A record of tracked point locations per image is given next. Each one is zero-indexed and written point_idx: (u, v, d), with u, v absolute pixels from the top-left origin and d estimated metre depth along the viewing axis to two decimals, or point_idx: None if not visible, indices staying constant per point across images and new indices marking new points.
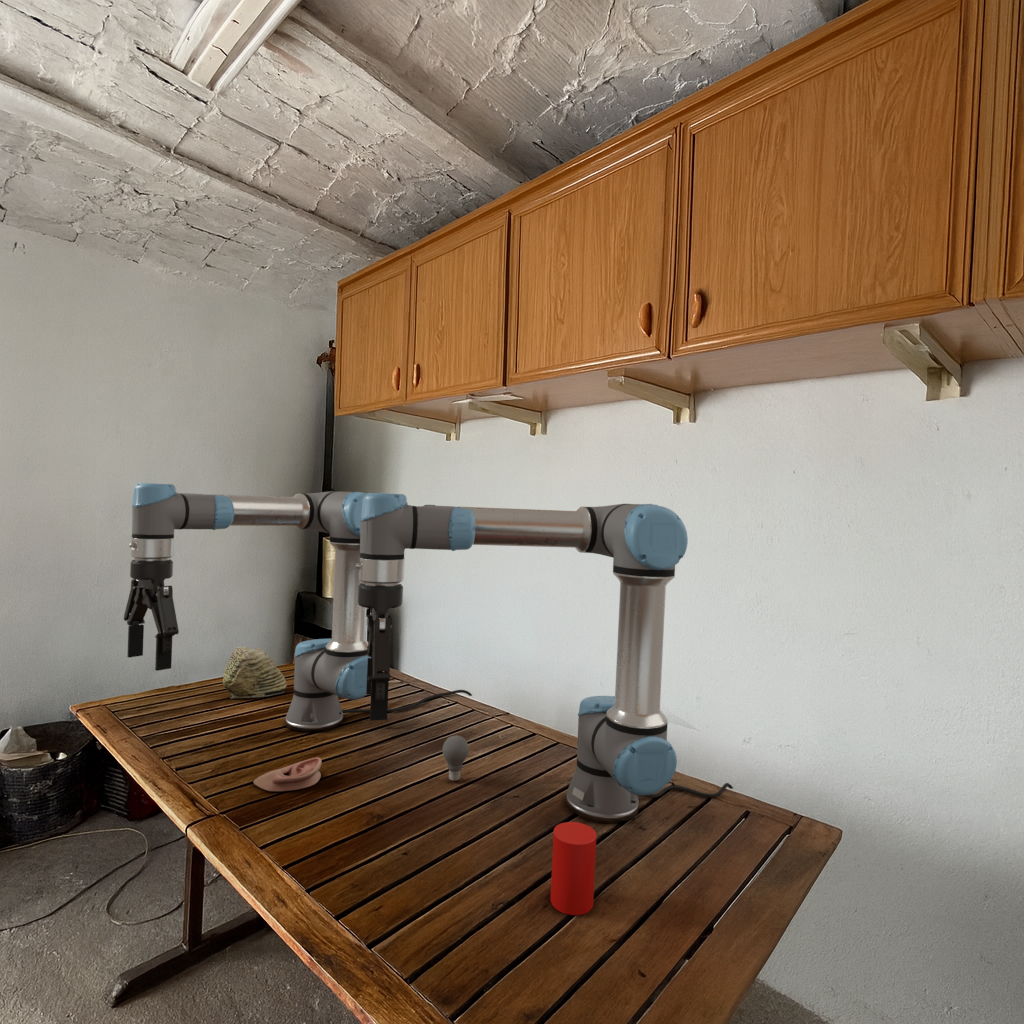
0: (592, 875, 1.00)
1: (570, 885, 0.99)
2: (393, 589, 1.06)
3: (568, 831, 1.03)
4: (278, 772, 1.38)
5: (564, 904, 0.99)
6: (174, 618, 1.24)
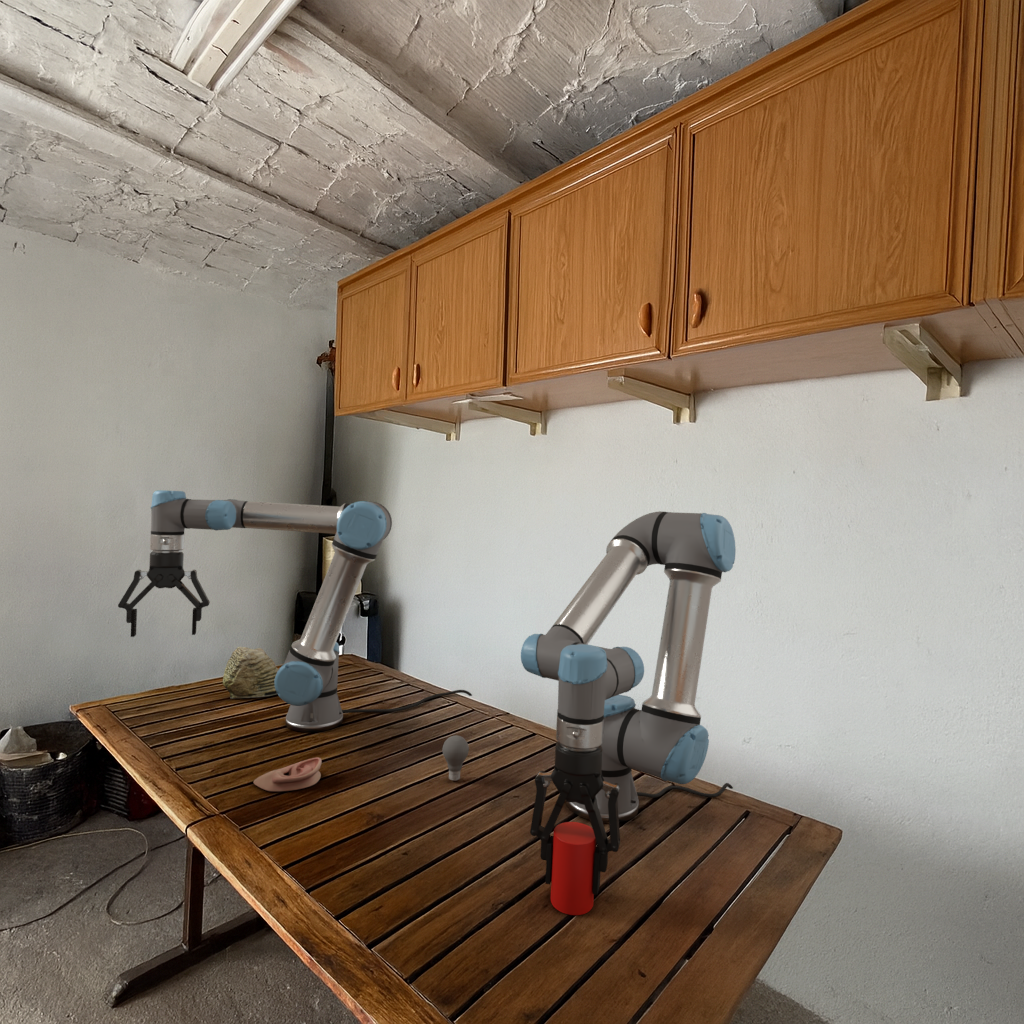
0: (592, 875, 1.00)
1: (570, 885, 0.99)
2: None
3: (568, 830, 1.03)
4: (278, 772, 1.38)
5: (564, 904, 0.99)
6: None
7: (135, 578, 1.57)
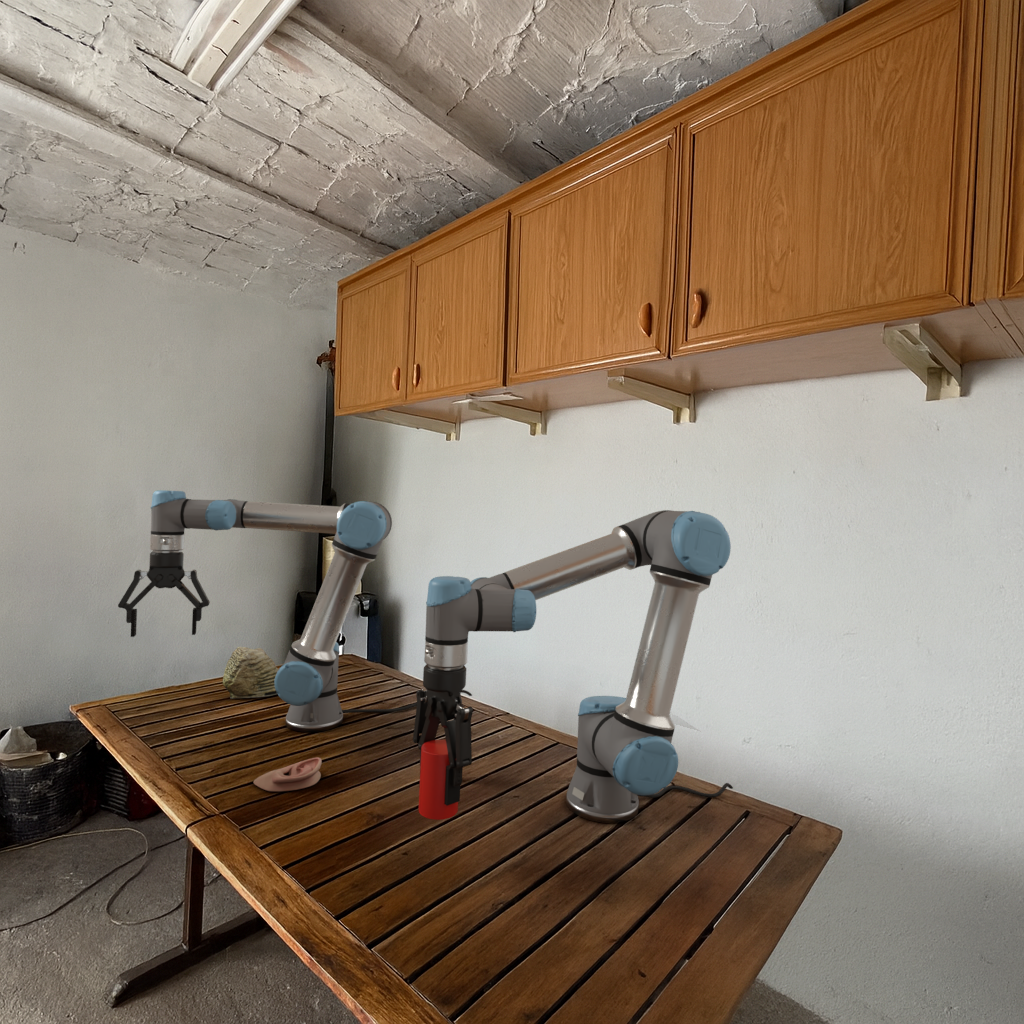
0: None
1: (424, 789, 1.09)
2: (464, 671, 1.10)
3: (438, 744, 1.13)
4: (278, 772, 1.38)
5: (420, 806, 1.10)
6: None
7: (135, 578, 1.57)
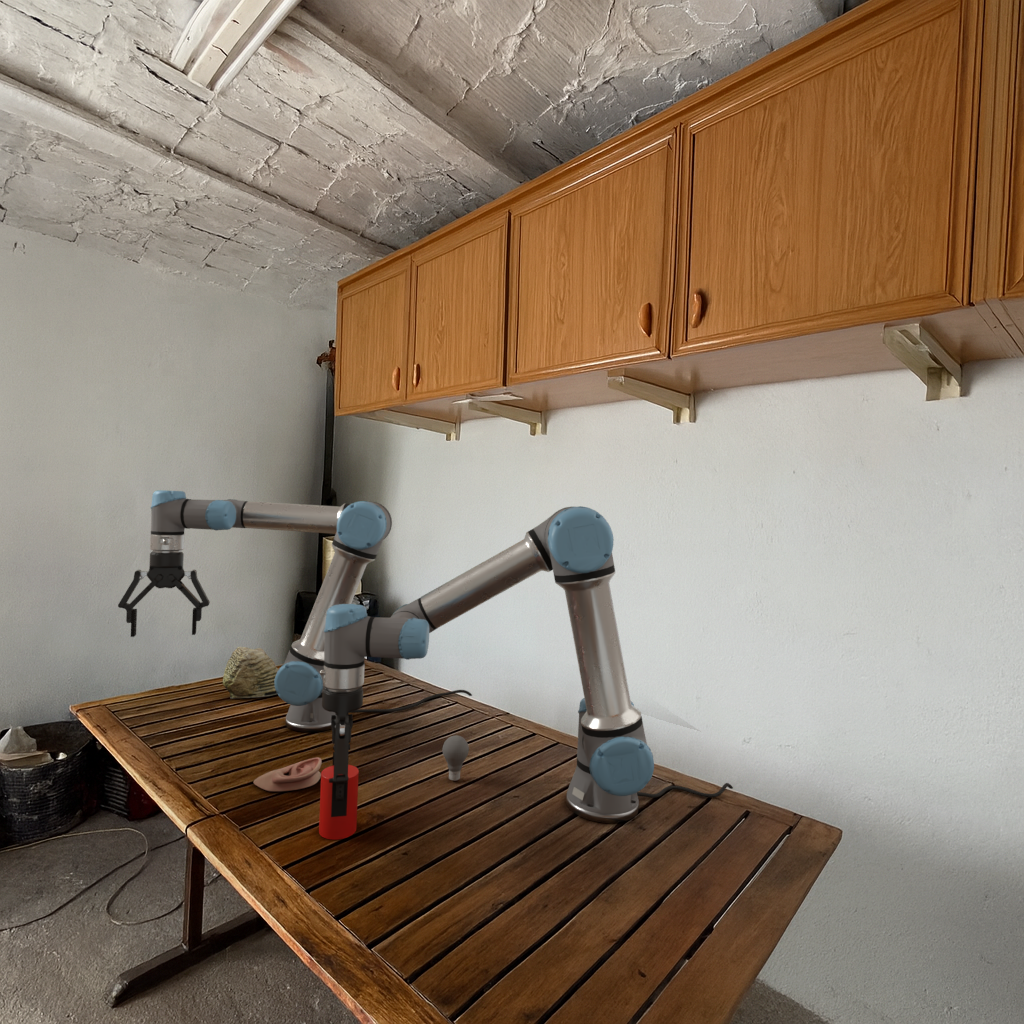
0: None
1: None
2: (353, 694, 1.18)
3: None
4: (278, 772, 1.38)
5: None
6: None
7: (135, 578, 1.57)
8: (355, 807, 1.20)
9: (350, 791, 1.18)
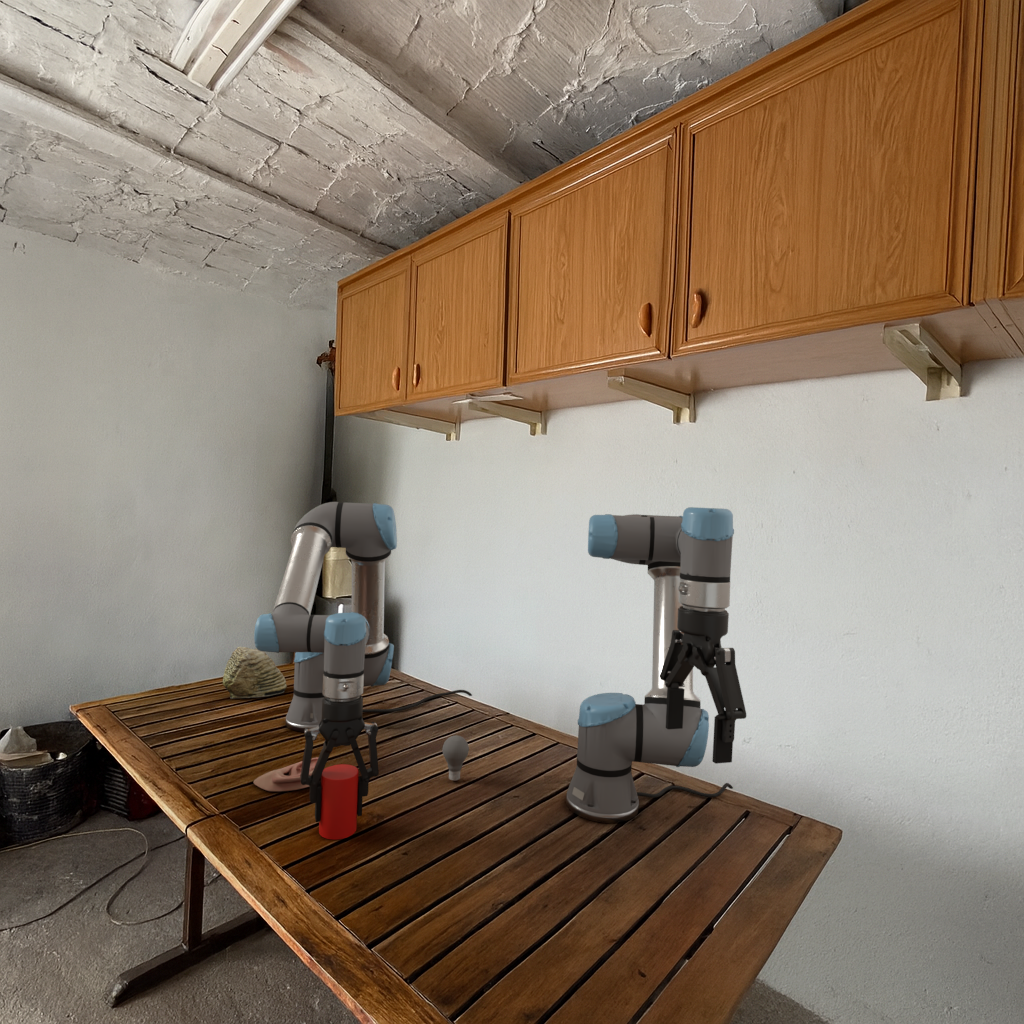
0: (332, 810, 1.17)
1: None
2: (725, 615, 0.95)
3: (340, 769, 1.22)
4: (278, 772, 1.38)
5: None
6: None
7: (308, 742, 1.17)
8: (355, 807, 1.20)
9: (350, 791, 1.18)
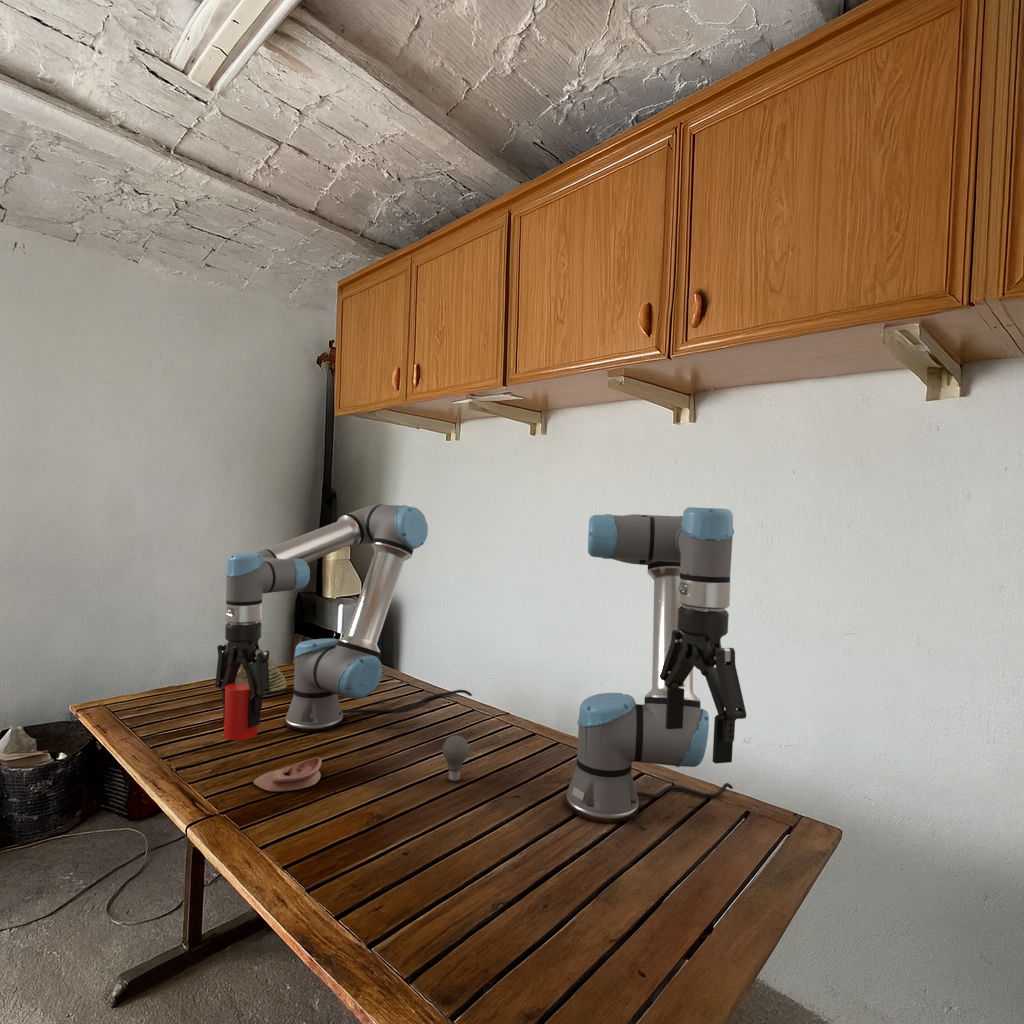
0: (225, 713, 1.41)
1: None
2: (725, 615, 0.95)
3: (246, 684, 1.44)
4: (278, 772, 1.38)
5: None
6: (268, 681, 1.41)
7: (219, 653, 1.45)
8: (243, 718, 1.40)
9: (235, 702, 1.40)
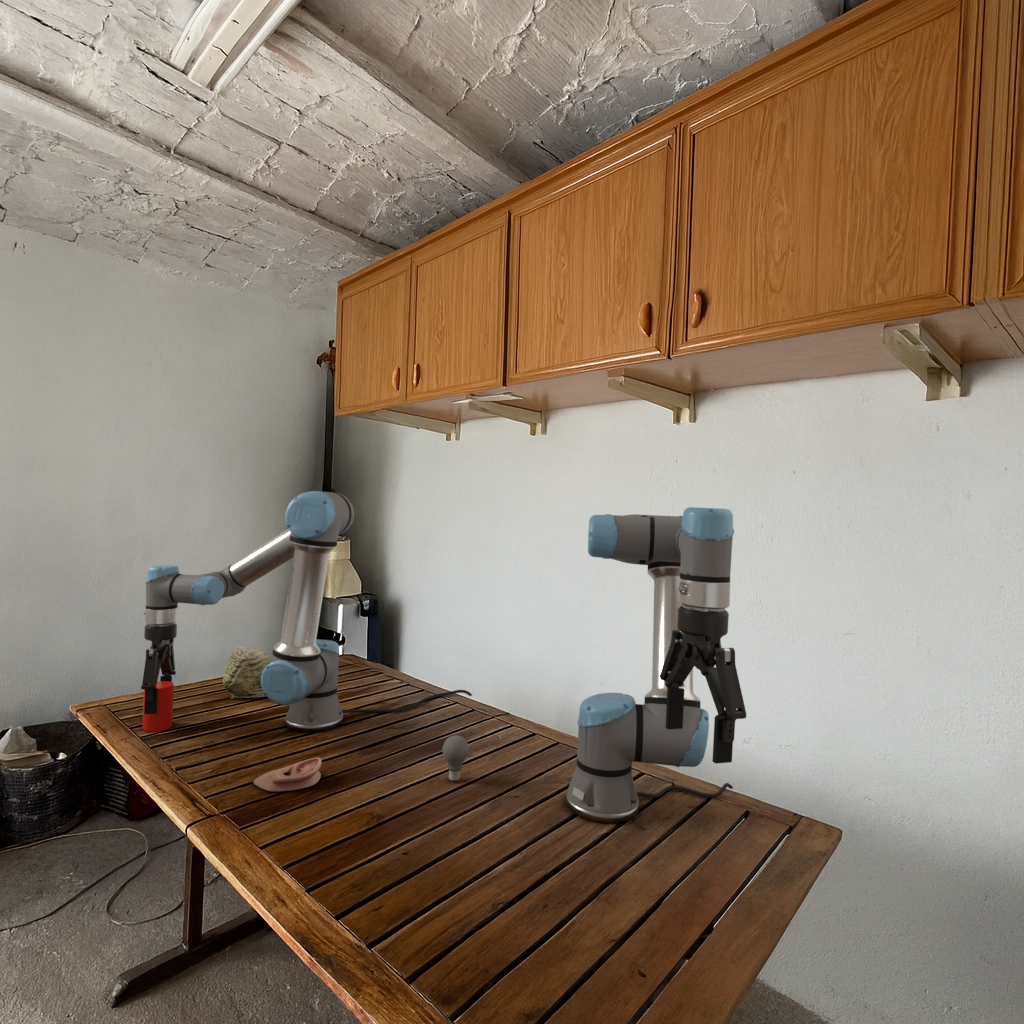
0: None
1: None
2: (725, 615, 0.95)
3: (162, 685, 1.68)
4: (278, 772, 1.38)
5: None
6: (152, 676, 1.60)
7: None
8: None
9: (143, 696, 1.66)
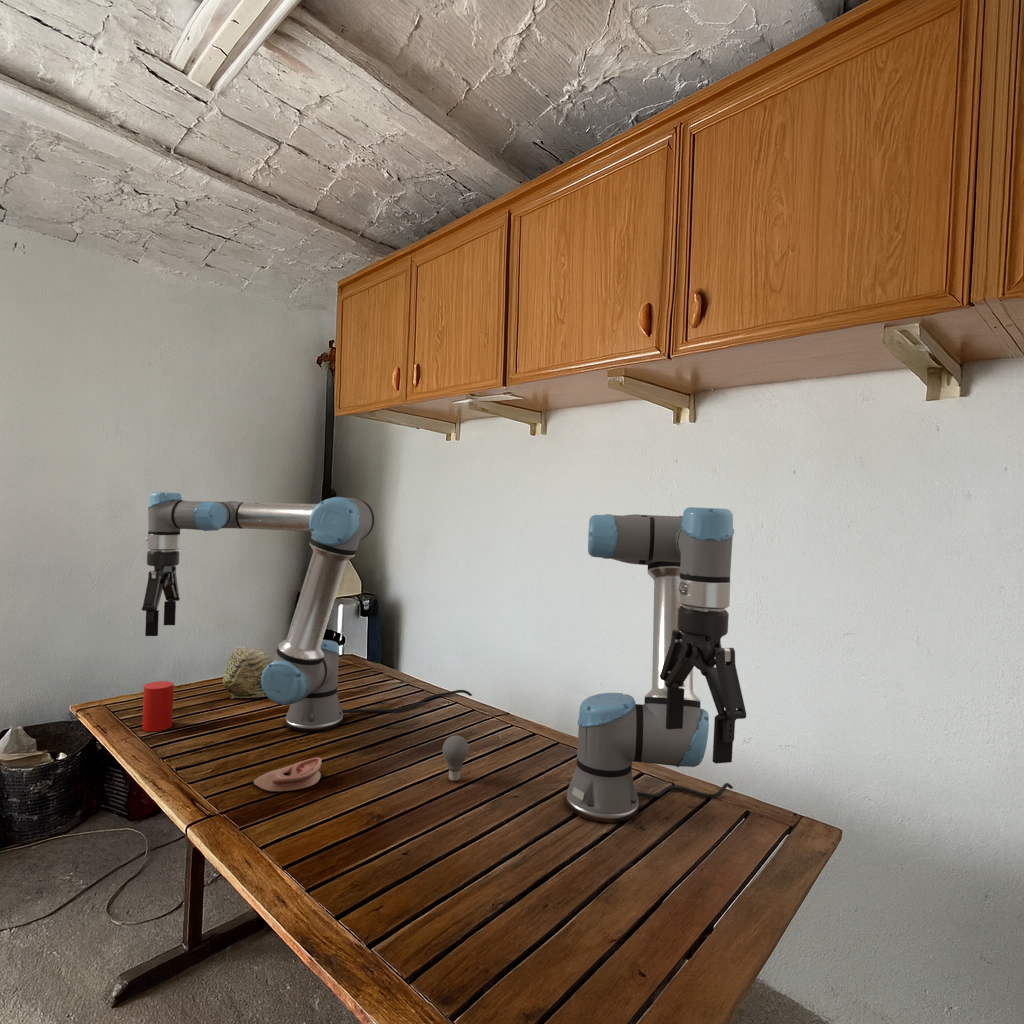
0: None
1: None
2: (725, 615, 0.95)
3: (162, 685, 1.68)
4: (278, 772, 1.38)
5: None
6: (153, 596, 1.59)
7: None
8: (146, 712, 1.65)
9: (143, 696, 1.66)
